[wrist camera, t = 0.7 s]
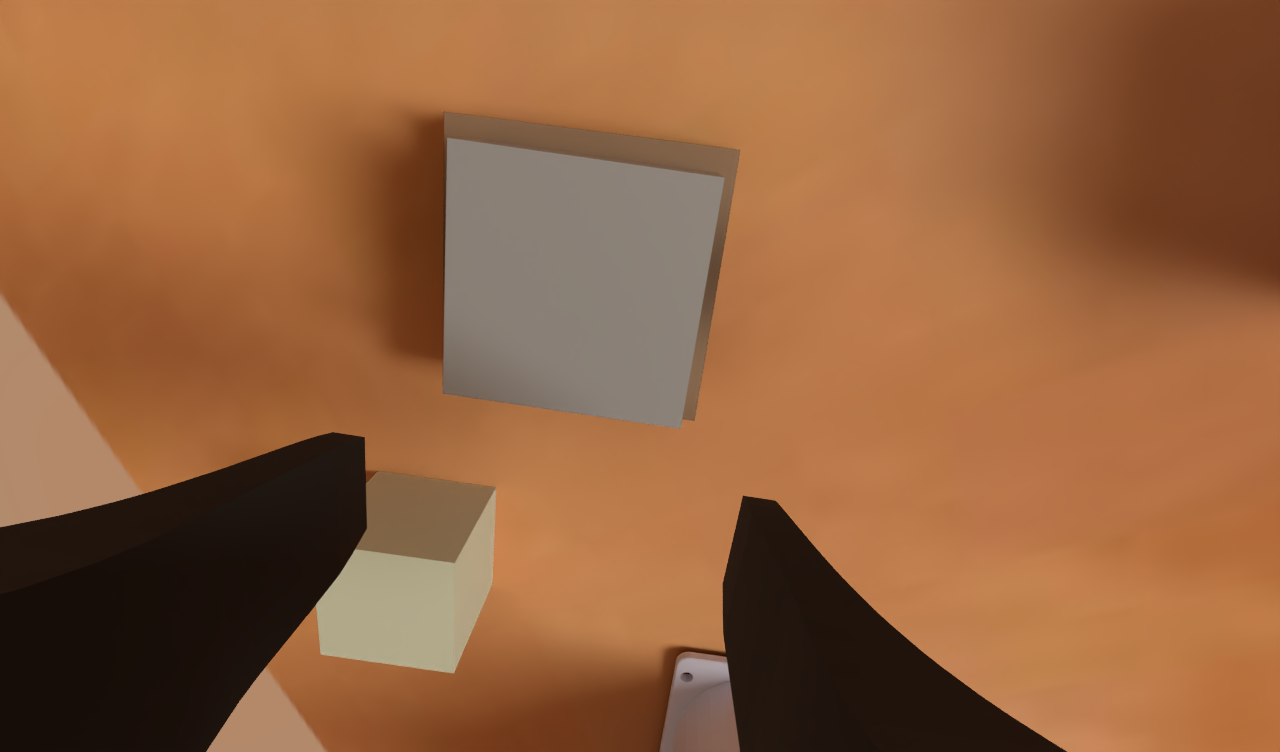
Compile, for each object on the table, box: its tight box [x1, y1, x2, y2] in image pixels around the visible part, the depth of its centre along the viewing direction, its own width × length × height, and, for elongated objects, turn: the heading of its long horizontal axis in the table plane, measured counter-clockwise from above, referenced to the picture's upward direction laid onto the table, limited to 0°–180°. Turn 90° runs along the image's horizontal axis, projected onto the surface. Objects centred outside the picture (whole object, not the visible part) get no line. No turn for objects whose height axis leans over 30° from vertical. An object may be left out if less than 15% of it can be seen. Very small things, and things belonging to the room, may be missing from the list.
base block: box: [443, 112, 740, 421], centre depth 19 cm, size 8×8×2 cm
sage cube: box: [316, 471, 496, 673], centre depth 21 cm, size 4×4×4 cm
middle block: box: [443, 138, 725, 429], centre depth 16 cm, size 6×6×2 cm
